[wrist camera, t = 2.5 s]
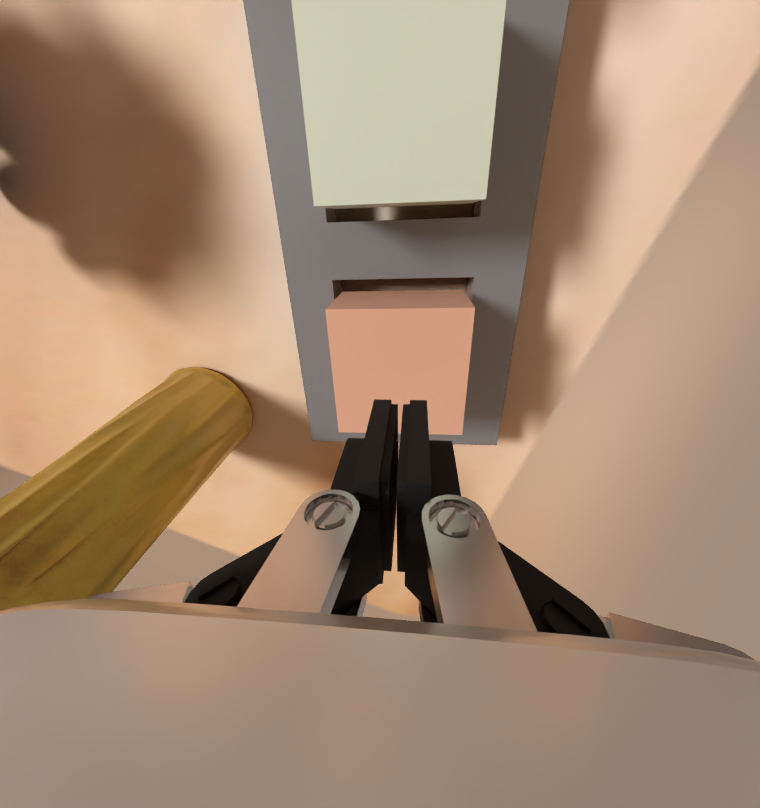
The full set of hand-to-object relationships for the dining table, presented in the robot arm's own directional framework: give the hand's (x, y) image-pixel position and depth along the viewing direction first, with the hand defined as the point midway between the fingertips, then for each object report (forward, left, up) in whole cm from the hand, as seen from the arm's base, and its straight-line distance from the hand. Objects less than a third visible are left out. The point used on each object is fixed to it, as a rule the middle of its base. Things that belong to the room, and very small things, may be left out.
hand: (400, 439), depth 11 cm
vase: (+4, -13, -10) cm, 17 cm away
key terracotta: (-1, 0, -8) cm, 8 cm away
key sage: (-10, 0, -8) cm, 12 cm away
